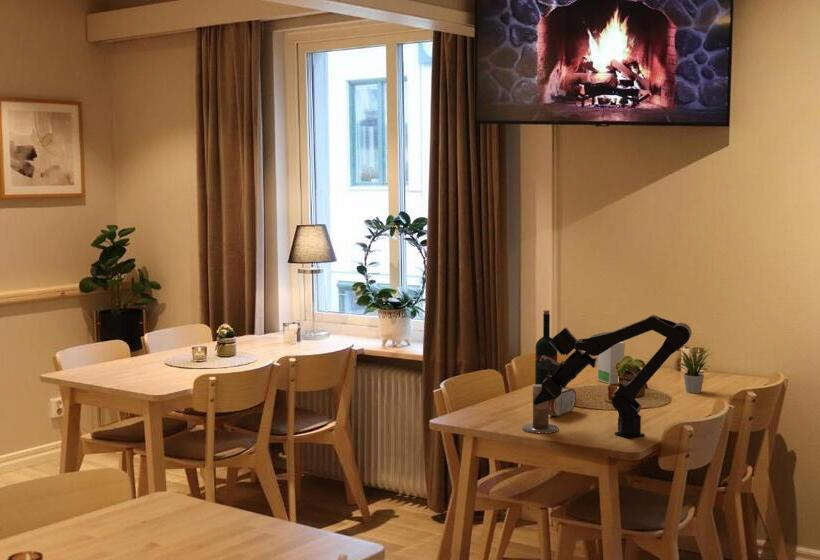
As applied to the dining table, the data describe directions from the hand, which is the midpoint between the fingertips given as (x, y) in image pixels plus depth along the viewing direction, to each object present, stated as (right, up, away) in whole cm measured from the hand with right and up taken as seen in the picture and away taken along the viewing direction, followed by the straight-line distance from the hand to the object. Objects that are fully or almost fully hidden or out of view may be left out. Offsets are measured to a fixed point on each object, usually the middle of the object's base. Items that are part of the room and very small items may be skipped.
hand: (535, 400), depth 316 cm
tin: (+11, -7, +20) cm, 24 cm away
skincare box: (+37, -1, +71) cm, 80 cm away
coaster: (+1, -9, +1) cm, 9 cm away
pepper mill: (+2, -8, 0) cm, 9 cm away
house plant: (+64, -3, +52) cm, 82 cm away
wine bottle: (+10, -4, +51) cm, 52 cm away
